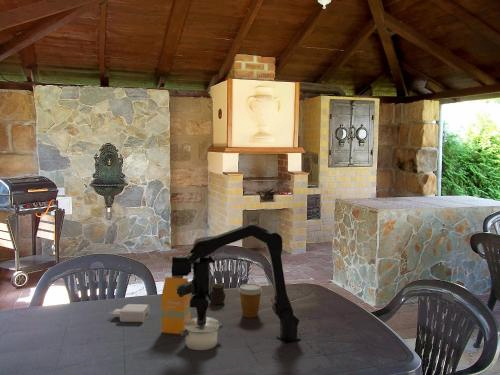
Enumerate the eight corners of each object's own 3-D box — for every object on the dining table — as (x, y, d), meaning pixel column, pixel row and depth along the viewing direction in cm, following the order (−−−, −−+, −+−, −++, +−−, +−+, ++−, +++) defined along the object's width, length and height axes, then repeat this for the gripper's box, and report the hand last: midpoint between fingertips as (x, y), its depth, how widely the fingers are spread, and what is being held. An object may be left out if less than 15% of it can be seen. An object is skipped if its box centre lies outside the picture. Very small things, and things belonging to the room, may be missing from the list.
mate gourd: (208, 300, 206) (208, 278, 205) (224, 300, 207) (225, 278, 206) (209, 306, 198) (209, 283, 198) (226, 305, 200) (227, 283, 199)
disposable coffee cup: (261, 319, 183) (262, 290, 182) (238, 319, 184) (238, 290, 182) (261, 311, 193) (262, 283, 192) (239, 310, 193) (239, 283, 192)
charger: (113, 314, 189) (149, 314, 188) (105, 322, 180) (143, 323, 179) (113, 302, 188) (149, 303, 188) (105, 310, 179) (143, 311, 179)
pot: (228, 344, 160) (228, 327, 159) (187, 354, 152) (187, 336, 151) (214, 333, 169) (214, 317, 169) (174, 342, 161) (174, 325, 161)
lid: (225, 328, 158) (225, 312, 157) (192, 336, 152) (192, 318, 151) (209, 317, 168) (209, 301, 168) (178, 323, 162) (178, 307, 162)
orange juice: (184, 334, 168) (183, 281, 166) (161, 332, 170) (161, 280, 168) (191, 326, 176) (190, 275, 174) (169, 324, 177) (168, 274, 176)
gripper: (181, 268, 168) (182, 309, 169) (174, 282, 149) (174, 329, 150) (212, 268, 168) (212, 309, 169) (208, 282, 149) (208, 329, 150)
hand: (201, 318), depth 160 cm, fingers open, 3 cm apart
